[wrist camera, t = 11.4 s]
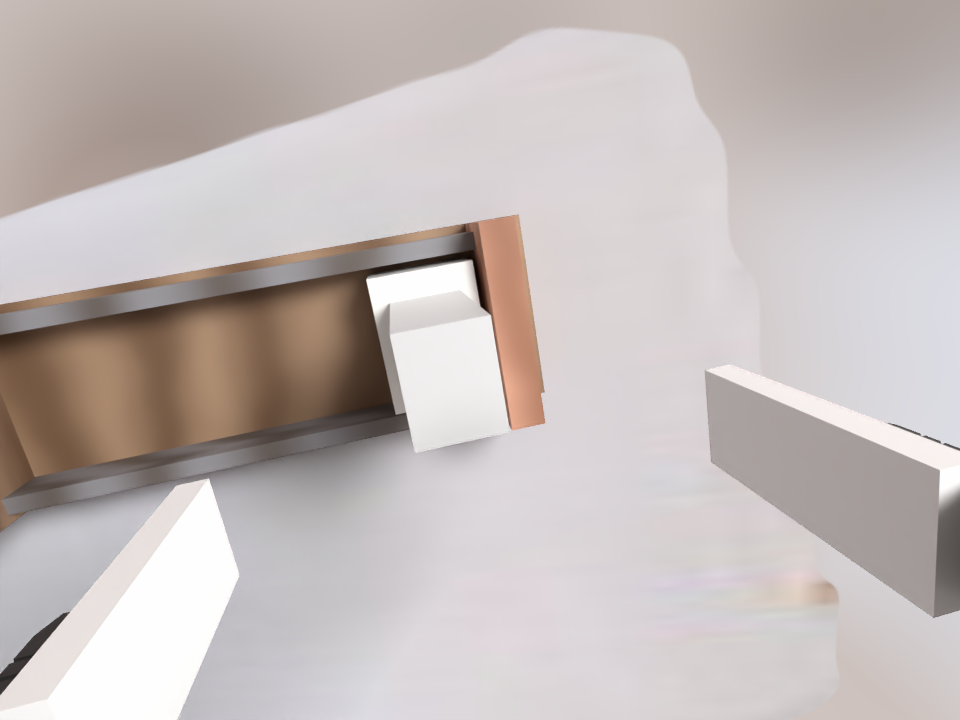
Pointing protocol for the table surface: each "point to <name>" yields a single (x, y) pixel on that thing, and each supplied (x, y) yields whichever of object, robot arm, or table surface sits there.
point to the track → (230, 365)
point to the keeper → (439, 353)
